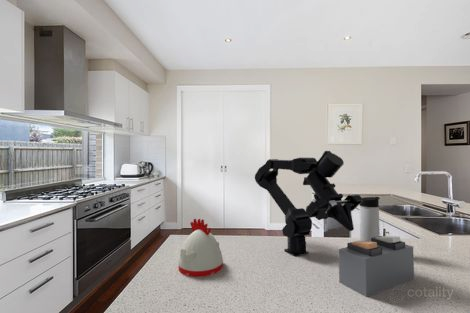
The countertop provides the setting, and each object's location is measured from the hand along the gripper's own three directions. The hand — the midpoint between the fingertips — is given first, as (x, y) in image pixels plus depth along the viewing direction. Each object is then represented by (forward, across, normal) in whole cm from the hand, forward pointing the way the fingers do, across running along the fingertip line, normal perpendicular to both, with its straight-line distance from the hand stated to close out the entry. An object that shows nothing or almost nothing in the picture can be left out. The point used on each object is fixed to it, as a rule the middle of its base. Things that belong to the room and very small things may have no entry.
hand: (351, 230), depth 69 cm
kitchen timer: (-9, +36, -28) cm, 47 cm away
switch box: (+12, -5, -7) cm, 15 cm away
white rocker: (+5, -10, 0) cm, 11 cm away
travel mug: (+2, -23, -18) cm, 29 cm away
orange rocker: (+5, 0, +1) cm, 5 cm away
